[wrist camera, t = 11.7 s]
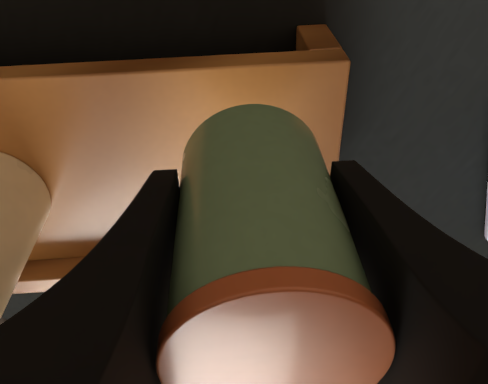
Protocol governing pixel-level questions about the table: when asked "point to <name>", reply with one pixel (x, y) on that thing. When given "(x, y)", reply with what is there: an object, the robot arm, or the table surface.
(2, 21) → the table surface
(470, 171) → the table surface
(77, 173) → the shelf
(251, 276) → the sage tin
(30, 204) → the cream tin
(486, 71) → the table surface
